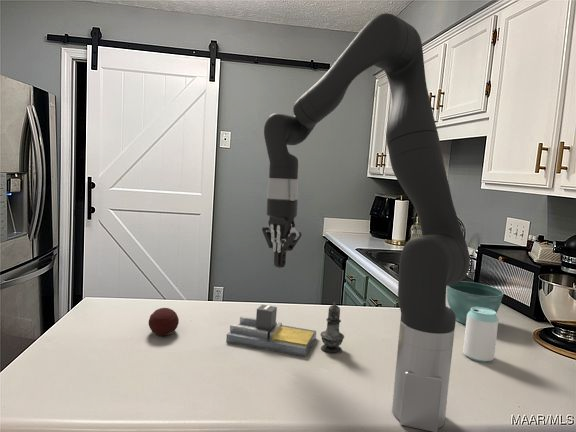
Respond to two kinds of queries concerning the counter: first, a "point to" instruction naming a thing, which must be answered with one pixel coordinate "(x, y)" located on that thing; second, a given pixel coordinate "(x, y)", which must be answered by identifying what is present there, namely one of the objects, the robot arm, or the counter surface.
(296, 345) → the board
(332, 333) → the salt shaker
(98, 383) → the counter surface
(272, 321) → the block
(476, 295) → the teal bowl
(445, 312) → the robot arm
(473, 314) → the can
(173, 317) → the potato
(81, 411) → the counter surface
